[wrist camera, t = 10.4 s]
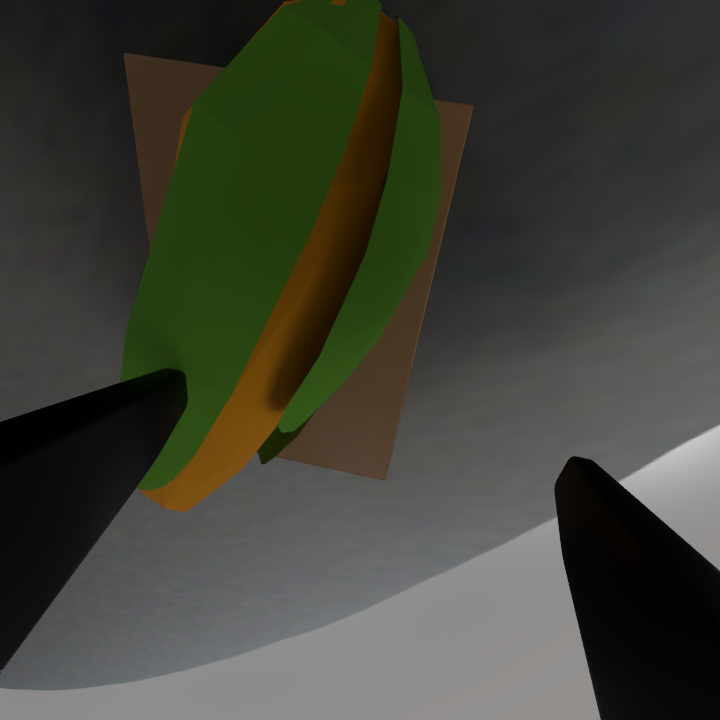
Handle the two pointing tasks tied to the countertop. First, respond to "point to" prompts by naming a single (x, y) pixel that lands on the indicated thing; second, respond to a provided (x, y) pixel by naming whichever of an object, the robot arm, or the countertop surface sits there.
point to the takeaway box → (400, 338)
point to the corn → (284, 235)
